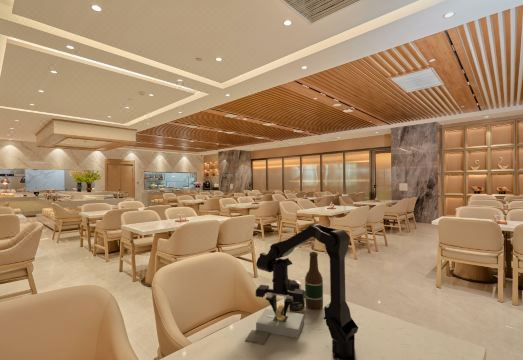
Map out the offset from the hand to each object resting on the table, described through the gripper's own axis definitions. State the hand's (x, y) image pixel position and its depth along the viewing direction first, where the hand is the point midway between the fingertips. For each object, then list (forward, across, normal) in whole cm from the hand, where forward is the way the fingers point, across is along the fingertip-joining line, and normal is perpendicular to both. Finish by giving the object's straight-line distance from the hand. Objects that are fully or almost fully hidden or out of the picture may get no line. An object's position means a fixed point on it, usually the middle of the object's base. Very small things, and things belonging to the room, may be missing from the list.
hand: (280, 315), depth 108 cm
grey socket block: (+4, 0, 0) cm, 4 cm away
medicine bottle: (+4, -2, -16) cm, 17 cm away
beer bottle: (+4, -10, -21) cm, 24 cm away
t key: (+4, 0, 0) cm, 4 cm away
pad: (+4, +6, +10) cm, 12 cm away
